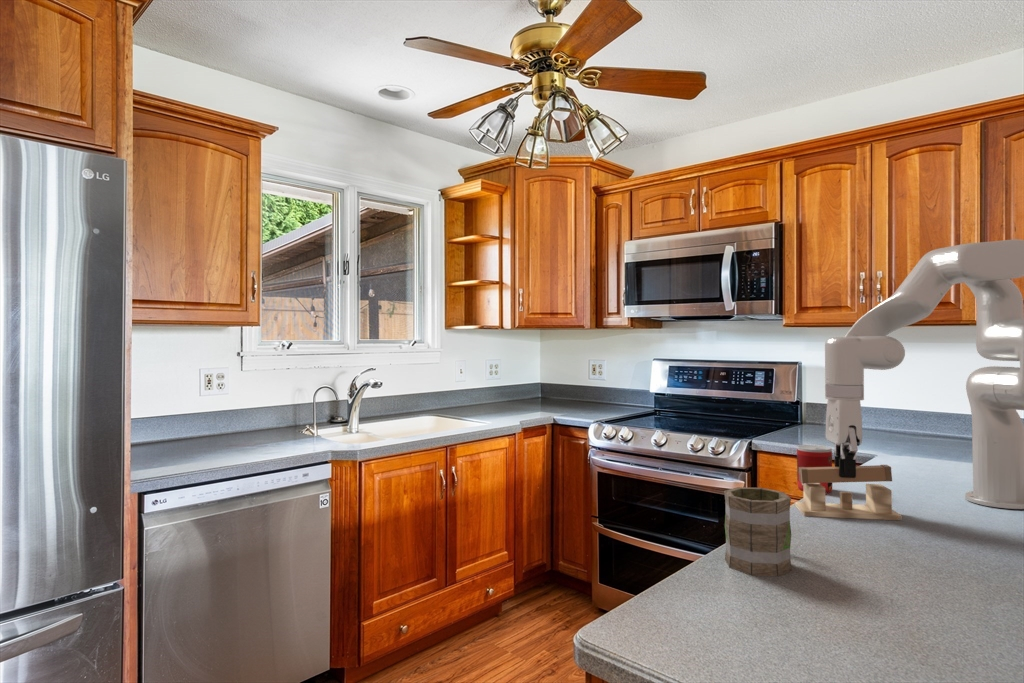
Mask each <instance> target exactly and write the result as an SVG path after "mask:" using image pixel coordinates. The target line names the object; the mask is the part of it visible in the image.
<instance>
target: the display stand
mask: <svg viewBox="0 0 1024 683" xmlns="http://www.w3.org/2000/svg"><path fill="white" fill-rule="evenodd" d="M802 492H803V494H802V495H803V497H802V498H803V501H795V505H794V506H795V507H796V509H798V511H799V512H800V513H801V514H802V515H803V516H804V517H819V518H821V517H823V518H839V519H840V518H842V519H843V518H845V519H862V520H863V519H865V520H866V519H867V520H886V521H887V520H889V521H902V518H903V516H902V515H901V514H900V513H898V512H897V511H895V510H894V509H893V507H892V506H893V505H892V503H893V502H892V500H893V499H892V496H893V495H892V489H889V488H888V487H886V486H885V485H883V484H881V483H865V504H859V503H858V504H856V503H855V504H854V503H853V493H852V492H850V491H839V503H834V502H833V503H830V502H829V503H827V502H826V494H825V488H824V487H823V486H822V485H821V484H819V483H803V491H802Z"/></svg>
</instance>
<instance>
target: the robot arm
mask: <svg viewBox="0 0 1024 683" xmlns="http://www.w3.org/2000/svg"><path fill="white" fill-rule="evenodd" d="M1019 278H1024V240H1023V239H1019V238H1015V239H1003V240H995V241H983V242H970V243H969V242H968V243H963V244H957V245H952V246H945V247H941V248H935V249H932V250H931V251H930V250H929V251H928V252H926V253H925V254H924V255H923V256H922V257H921V258H920V259H919V260H918V262H916V264H915V266H914V267H913V268H912V269H911V270H910V272H909V274H908V275H907V276H906V277H905V278H904V280H903V281H902V282H901V283H900V284H899V286H898V288H897V289H896V290H895V291H894V293H892V295H891V296H889V297H888V298H886V299H884V300H883V301H881V302H879V304H877V305H876V306H874V307H873V308H872V309H870V310H869V311H867V312H866V313H865V314H863V315H862V316H861V317H860V318H858V319H857V321H855V323H854V324H853V325H852V326H851V327H850V328H849V329H848V331H847V332H846V334H845V335H844V336H836V337H834V336H833V337H829V338H827V339H826V341H825V343H824V371H825V372H824V378H825V379H824V382H825V383H824V384H825V386H824V388H825V390H824V391H825V393H824V394H825V395H824V396H825V397H824V398H825V400H827V404H826V414H825V415H826V416H825V439H826V440H827V441H828V442H829V443H832V444H833V448H834V467H839V476H840V477H842V478H855V477H856V466H857V452H858V447H859V446H861V445H862V443H863V418H862V417H863V416H862V407H861V406H862V405H861V401H864V400H865V379H864V378H865V370H873V371H874V370H876V371H877V370H878V371H879V370H880V371H885V370H886V371H887V370H891V369H894V368H896V367H898V366H900V365H901V364H902V362H903V361H904V359H905V356H906V349H905V347H904V345H903V343H902V342H901V341H900V340H898V339H896V338H894V337H891V336H889V334H891V333H893V332H895V331H897V330H899V329H902V328H905V327H908V326H910V325H913V324H915V323H918V322H920V321H922V320H924V319H926V318H927V317H929V316H930V315H931V314H932V313H933V312H934V310H935V309H936V307H937V306H938V304H940V302H941V301H942V300H943V298H944V297H945V295H946V294H947V293H948V292H949V290H950V289H952V287H953V286H954V285H956V284H965V285H966V286H967V288H969V289H970V291H971V292H972V294H973V296H974V298H975V301H976V323H975V324H976V325H975V326H976V327H975V330H976V332H975V345H976V346H975V347H976V351H977V353H978V355H979V356H980V357H982V358H983V359H986V360H989V361H991V360H992V361H1000V362H1001V361H1003V362H1019V367H1018V366H1017V367H1015V366H998V365H997V366H996V365H994V366H991V365H990V366H984V367H983V366H982V367H980V368H977V369H975V370H974V371H972V372H971V373H970V374H969V376H968V377H967V380H966V384H965V390H966V395H967V396H966V397H967V398H968V402H969V406H970V413H971V425H972V427H971V428H972V432H971V433H972V434H971V435H972V436H971V437H972V438H971V439H972V441H971V442H972V490H973V491H967V492H966V493H965V494H964V498H965V500H967V501H969V502H970V503H973V504H977V505H981V506H987V507H991V508H998V509H999V508H1000V509H1007V510H1010V509H1011V510H1024V422H1023V420H1022V417H1021V416H1020V415H1019V413H1018V411H1024V299H1023V295H1022V292H1021V291H1020V289H1019V287H1018V286H1017V285H1016V283H1014V281H1012V279H1019ZM1017 410H1018V411H1017Z"/></svg>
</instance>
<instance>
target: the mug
mask: <svg viewBox="0 0 1024 683" xmlns="http://www.w3.org/2000/svg"><path fill="white" fill-rule="evenodd" d="M723 493H724V500H725V501H724V504H725V515H724V530H725V531H724V532H725V533H724V534H725V555H724V561H725V562H726V564H727V566H728V568H729V569H732V570H734V571H738V572H741V573H744V574H747V575H751V576H757V577H758V576H760V577H761V576H763V577H782V575H785V574H788V573H790V572H792V571H793V567H792V561H791V545H792V544H791V543H792V528H791V520H790V519H791V518H790V517H791V514H790V513H791V502H792V497H791V496H789V495H788V494H786V492H784V491H779V490H776V489H775V490H774V489H770V488H764V487H746V486H745V487H744V486H743V487H740V486H739V487H734V488H729V489H726V490H723Z"/></svg>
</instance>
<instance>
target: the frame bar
mask: <svg viewBox="0 0 1024 683" xmlns="http://www.w3.org/2000/svg"><path fill="white" fill-rule="evenodd" d="M799 480H800V482H802V483H832V484H833V483H835V484H837V483H867V482H868V483H871V482H872V483H874V482H876V483H877V482H879V483H880V482H893V475H892V467H891V466H890V465H888V464H879V465H878V464H877V465H856V477H855V478H842V477H840V476H839V467H835V466H832V467H799Z"/></svg>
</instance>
